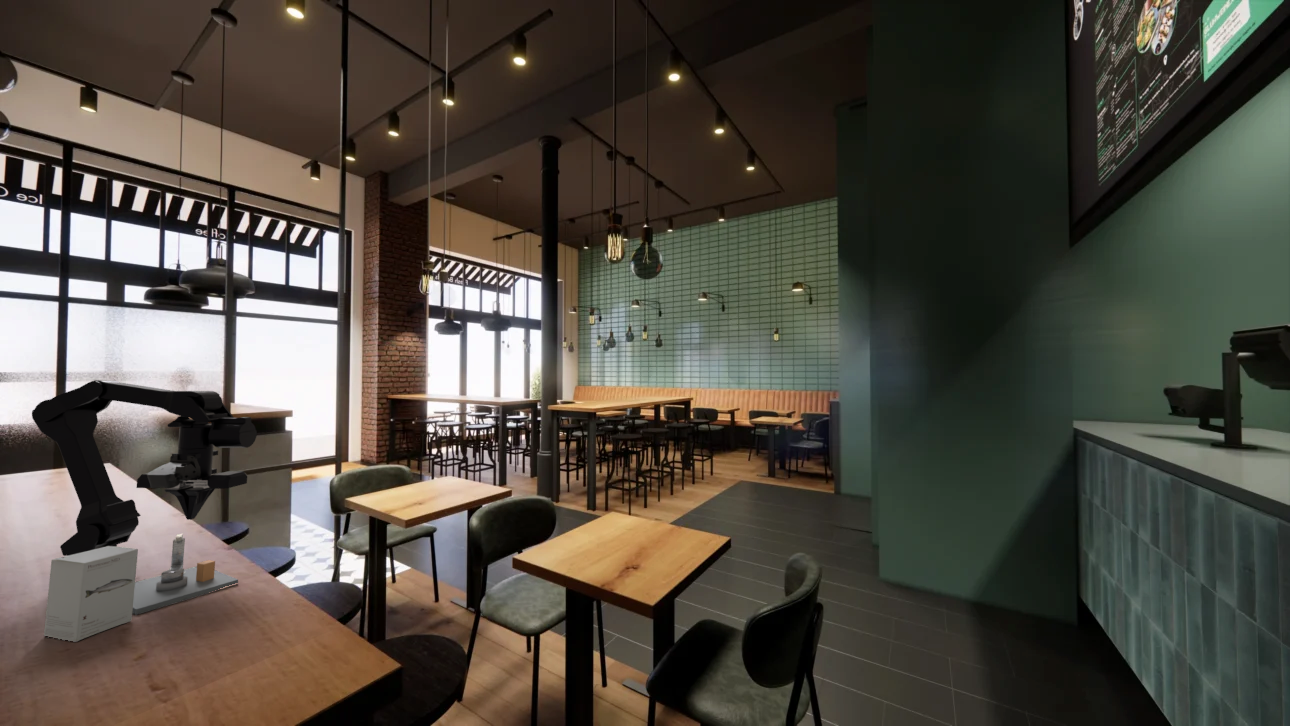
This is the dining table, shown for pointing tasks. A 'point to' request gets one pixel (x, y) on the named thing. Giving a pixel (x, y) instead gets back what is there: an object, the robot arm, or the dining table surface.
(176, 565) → the crank
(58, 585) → the supplement box
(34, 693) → the dining table surface
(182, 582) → the crank bed
